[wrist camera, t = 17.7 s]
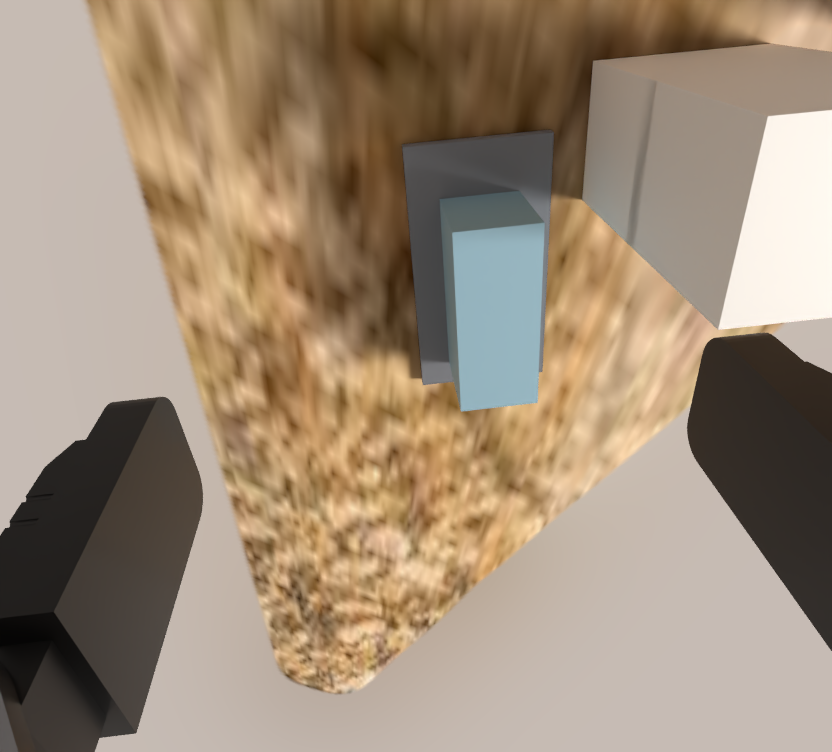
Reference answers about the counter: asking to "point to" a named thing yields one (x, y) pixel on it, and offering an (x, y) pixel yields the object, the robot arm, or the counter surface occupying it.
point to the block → (493, 297)
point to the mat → (458, 177)
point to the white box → (720, 175)
